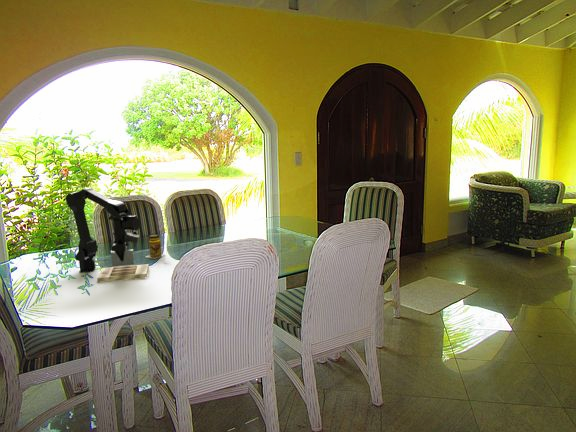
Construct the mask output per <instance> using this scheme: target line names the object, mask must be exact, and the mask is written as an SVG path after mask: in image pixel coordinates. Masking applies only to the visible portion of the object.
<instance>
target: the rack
mask: <svg viewBox="0 0 576 432" xmlns="http://www.w3.org/2000/svg"><path fill="white" fill-rule="evenodd" d="M149 266H150V264H149V263H146V264H145V263H144V264H133V265H121V266H110V267H102V268H101V270H100V271H99V273H98V276H97V277H96V280H97V281H96V282H97V283H100V282H99V281H105V282H112V281H113V280H116V281H125V279H127V280H135V278H138V279H146V278H145V277H148V273H149V269H150V268H149ZM113 282H114V281H113Z"/></svg>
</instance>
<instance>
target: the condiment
mask: <svg viewBox="0 0 576 432" xmlns="http://www.w3.org/2000/svg"><path fill="white" fill-rule="evenodd" d="M148 237H149V238H148V239H149V240H148V246H149V254H148V255H146V256H145V258H149V259H154V260H156V259H160V258H161V257H164V256H165V254H162V245H161V244H162V242H161V239H160V234H155V233H154V234H150V235H149V236H148Z"/></svg>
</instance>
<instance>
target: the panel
mask: <svg viewBox="0 0 576 432" xmlns="http://www.w3.org/2000/svg"><path fill="white" fill-rule="evenodd" d="M110 257H111V267H120V266H131V265H135V253H134V249H133V248H131V249H130V248H129V249H126V250H125V251H124V261H121V260H120V259H119V257H118V255H117V254H116V252H115V251H112V250H110Z"/></svg>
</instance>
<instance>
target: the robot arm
mask: <svg viewBox="0 0 576 432" xmlns="http://www.w3.org/2000/svg"><path fill="white" fill-rule="evenodd" d="M87 199H88V200H90V201H91V202H94V203H96V204H97V205H99V206H101V207H103V208H104V209H105V211H106V212H107V214H109V215H110V216H109V217H108V218H107V219H108V220H109V221H110V220H111V221H112V223H111V224H112V231H113V232H112V235H113V244H112V246H110V247H111V251H115V252H116V254H117V255H118V257H119V259H120V260H121V261H124V251H125V250H128V249H127V248H128V246H129V244H130V243H133V244H138V241H139V238H140V235H139V234H138V232H137V231H138V230H139V229H140V228H141V221H140V219H139V218H138V216H137V215H132V212H130V210H129V208H127V206H126V204H125V203H124V202H123V201H120V200H115V199H111V198H109V197H107V196H105V195H104V194H101V193H100V192H97V191H96V190H94V189H93V188H92V187H87V188H83V189H81V190H79V191H75V192H71V193H68V194H66V196H65V202H66V204H67V207H68V208H69V209H70V210H71V211H72V212H73V217H74V221H75V225H76V230H77V232H78V236H79V242H78V248H77V249H78V252H77V253H76V254H75V255H74V259H75V260H76V261H78V264H79V273H88V272H89V271H91V272H94V271H95V269H96V267H97V266H96V261H95V259H94V257H96V256H97V252H98V248H99V246H98V243H97V242H98V241H97V240H96V239H94V238H92V237H91V233H90V230H89V224H88V221H87V217H86V213H85V206H86V203H87V202H86V200H87ZM128 231H132V232H128ZM129 242H130V243H129Z"/></svg>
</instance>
